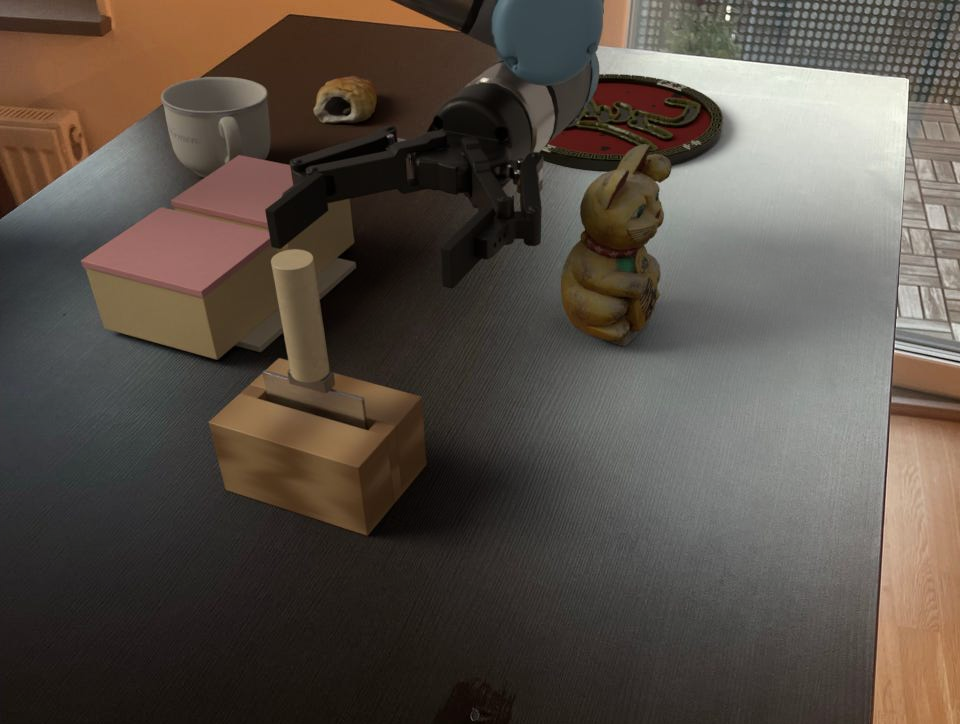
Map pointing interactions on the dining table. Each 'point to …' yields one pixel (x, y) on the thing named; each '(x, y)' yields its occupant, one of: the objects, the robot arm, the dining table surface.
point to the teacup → (217, 121)
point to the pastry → (346, 100)
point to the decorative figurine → (617, 250)
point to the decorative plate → (637, 124)
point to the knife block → (322, 453)
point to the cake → (212, 263)
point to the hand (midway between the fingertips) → (356, 248)
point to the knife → (307, 347)
